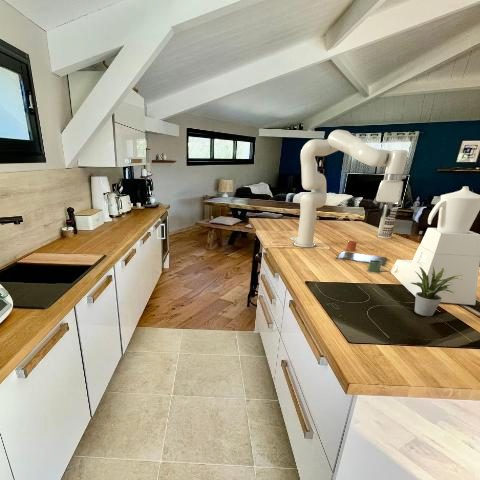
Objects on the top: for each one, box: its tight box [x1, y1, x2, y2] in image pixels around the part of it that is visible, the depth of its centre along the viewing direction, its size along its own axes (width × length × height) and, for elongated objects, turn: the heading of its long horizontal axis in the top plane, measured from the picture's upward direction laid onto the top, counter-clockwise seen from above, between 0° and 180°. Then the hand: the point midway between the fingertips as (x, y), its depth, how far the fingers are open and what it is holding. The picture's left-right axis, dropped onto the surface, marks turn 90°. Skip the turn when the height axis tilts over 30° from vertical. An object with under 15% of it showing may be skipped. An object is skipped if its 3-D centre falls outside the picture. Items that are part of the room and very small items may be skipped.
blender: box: [389, 185, 480, 306], centre depth 121 cm, size 33×18×40 cm, turn 166°
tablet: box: [336, 251, 387, 266], centre depth 166 cm, size 22×16×1 cm
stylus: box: [377, 204, 389, 235], centre depth 158 cm, size 2×2×15 cm
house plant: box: [410, 267, 463, 317], centre depth 102 cm, size 14×14×16 cm
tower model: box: [377, 202, 399, 239], centre depth 213 cm, size 9×9×25 cm
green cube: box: [367, 260, 382, 273], centre depth 146 cm, size 5×5×5 cm
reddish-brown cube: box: [346, 240, 358, 252], centre depth 184 cm, size 5×5×5 cm
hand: (383, 216), depth 157 cm, fingers closed on stylus, 2 cm apart
